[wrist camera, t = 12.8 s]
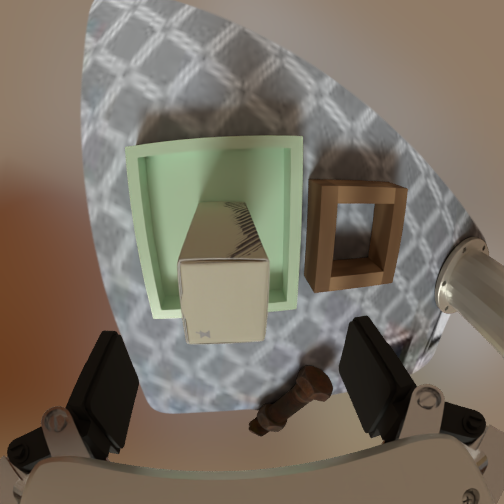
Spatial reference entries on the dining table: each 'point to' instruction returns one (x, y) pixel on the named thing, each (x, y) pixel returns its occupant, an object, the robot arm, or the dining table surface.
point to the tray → (212, 190)
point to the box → (223, 276)
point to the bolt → (292, 401)
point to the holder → (324, 226)
